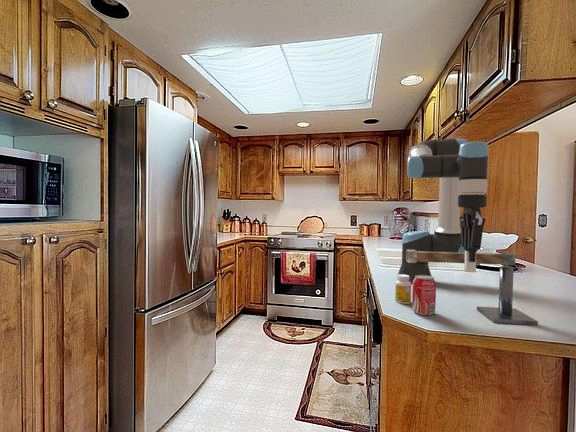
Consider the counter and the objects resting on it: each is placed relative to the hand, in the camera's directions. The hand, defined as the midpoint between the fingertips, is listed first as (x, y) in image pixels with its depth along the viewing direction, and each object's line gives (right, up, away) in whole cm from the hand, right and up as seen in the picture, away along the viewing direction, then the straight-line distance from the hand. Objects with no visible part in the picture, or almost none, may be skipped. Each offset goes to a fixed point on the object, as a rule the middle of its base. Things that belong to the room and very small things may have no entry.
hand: (469, 271), depth 98 cm
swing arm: (0, +2, +6) cm, 6 cm away
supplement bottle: (-13, -15, +20) cm, 28 cm away
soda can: (-11, -15, +8) cm, 20 cm away
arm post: (+14, -15, +4) cm, 21 cm away
